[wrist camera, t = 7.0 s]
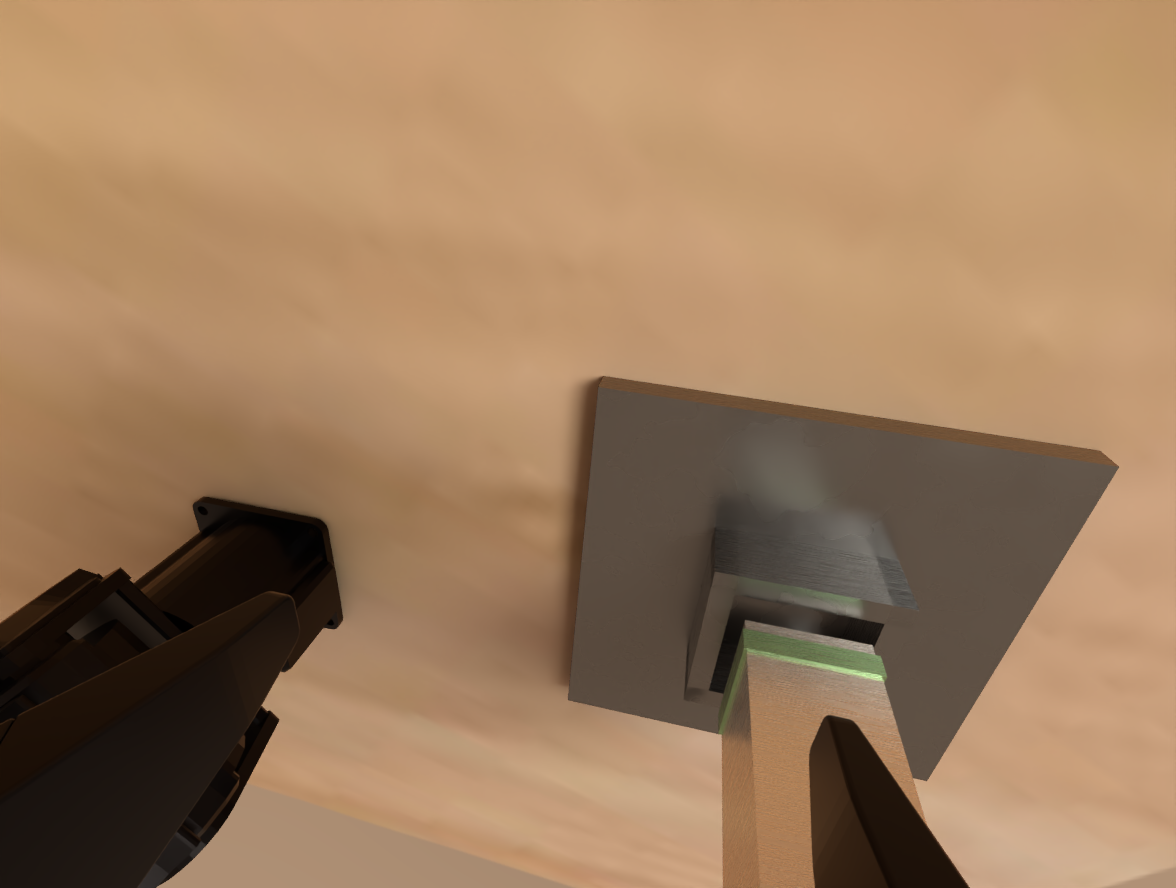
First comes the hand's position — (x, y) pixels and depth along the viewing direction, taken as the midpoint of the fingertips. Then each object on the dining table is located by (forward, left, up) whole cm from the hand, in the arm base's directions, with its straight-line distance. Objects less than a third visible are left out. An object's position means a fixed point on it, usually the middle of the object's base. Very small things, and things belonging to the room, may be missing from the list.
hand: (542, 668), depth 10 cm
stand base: (+7, -8, -12) cm, 16 cm away
